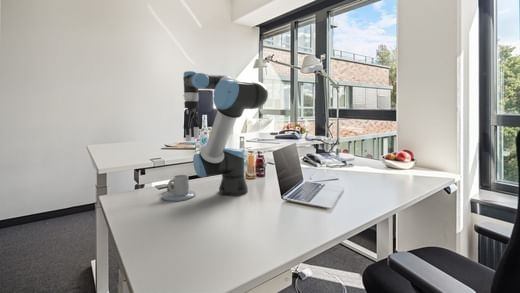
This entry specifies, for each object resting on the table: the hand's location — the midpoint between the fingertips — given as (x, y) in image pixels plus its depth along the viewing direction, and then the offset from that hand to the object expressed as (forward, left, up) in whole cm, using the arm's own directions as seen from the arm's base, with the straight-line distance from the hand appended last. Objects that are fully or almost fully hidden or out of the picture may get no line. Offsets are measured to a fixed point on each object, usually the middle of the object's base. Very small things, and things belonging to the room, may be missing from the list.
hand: (192, 139), depth 157 cm
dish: (+2, +18, -27) cm, 32 cm away
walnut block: (+9, +10, -27) cm, 30 cm away
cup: (+2, +19, -26) cm, 32 cm away
